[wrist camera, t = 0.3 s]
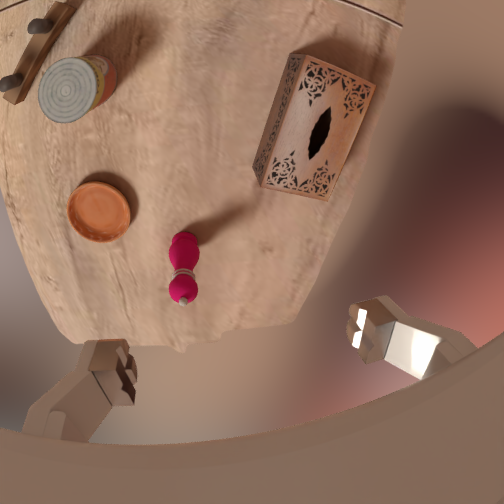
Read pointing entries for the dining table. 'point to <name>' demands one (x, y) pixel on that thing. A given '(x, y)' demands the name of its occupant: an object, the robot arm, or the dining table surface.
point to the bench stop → (36, 51)
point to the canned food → (76, 87)
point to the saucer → (98, 212)
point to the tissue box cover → (311, 127)
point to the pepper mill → (183, 268)
